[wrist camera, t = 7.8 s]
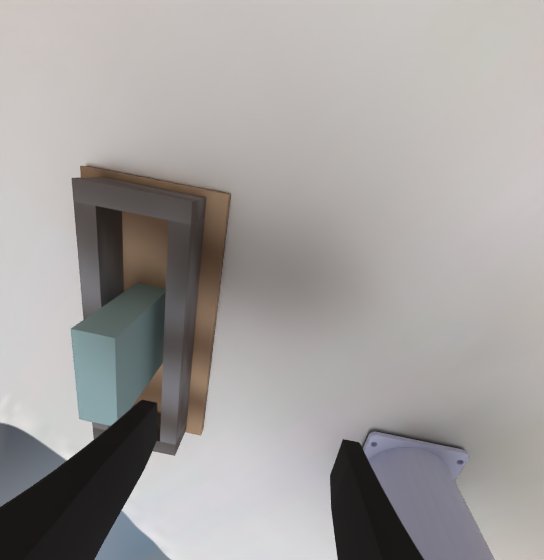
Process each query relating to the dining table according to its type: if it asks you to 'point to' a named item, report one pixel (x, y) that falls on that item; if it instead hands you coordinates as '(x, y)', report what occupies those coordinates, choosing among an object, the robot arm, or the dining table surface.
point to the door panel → (118, 352)
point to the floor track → (157, 278)
